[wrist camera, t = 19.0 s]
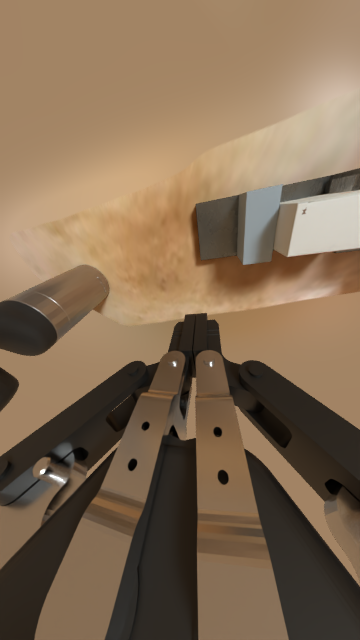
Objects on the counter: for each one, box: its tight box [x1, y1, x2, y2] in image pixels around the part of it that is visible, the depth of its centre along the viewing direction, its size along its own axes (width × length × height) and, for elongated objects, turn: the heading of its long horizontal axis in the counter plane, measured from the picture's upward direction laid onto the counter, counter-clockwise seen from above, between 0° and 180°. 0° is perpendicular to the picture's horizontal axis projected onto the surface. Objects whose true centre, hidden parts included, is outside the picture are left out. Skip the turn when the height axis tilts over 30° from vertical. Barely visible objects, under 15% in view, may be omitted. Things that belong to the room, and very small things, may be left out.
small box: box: [273, 190, 360, 257], centre depth 21 cm, size 8×6×10 cm
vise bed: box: [196, 168, 360, 260], centre depth 25 cm, size 23×9×8 cm, turn 100°
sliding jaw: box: [237, 184, 283, 265], centre depth 24 cm, size 4×9×6 cm, turn 10°
